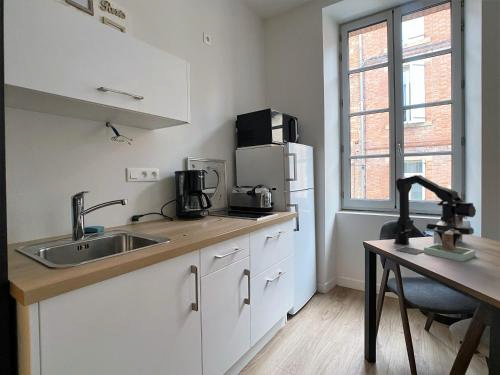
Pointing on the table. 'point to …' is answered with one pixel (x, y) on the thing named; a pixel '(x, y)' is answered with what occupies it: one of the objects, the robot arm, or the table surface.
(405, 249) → the mat
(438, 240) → the medicine box
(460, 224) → the coffee box
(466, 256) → the green square frame
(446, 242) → the walnut block
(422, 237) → the table surface
